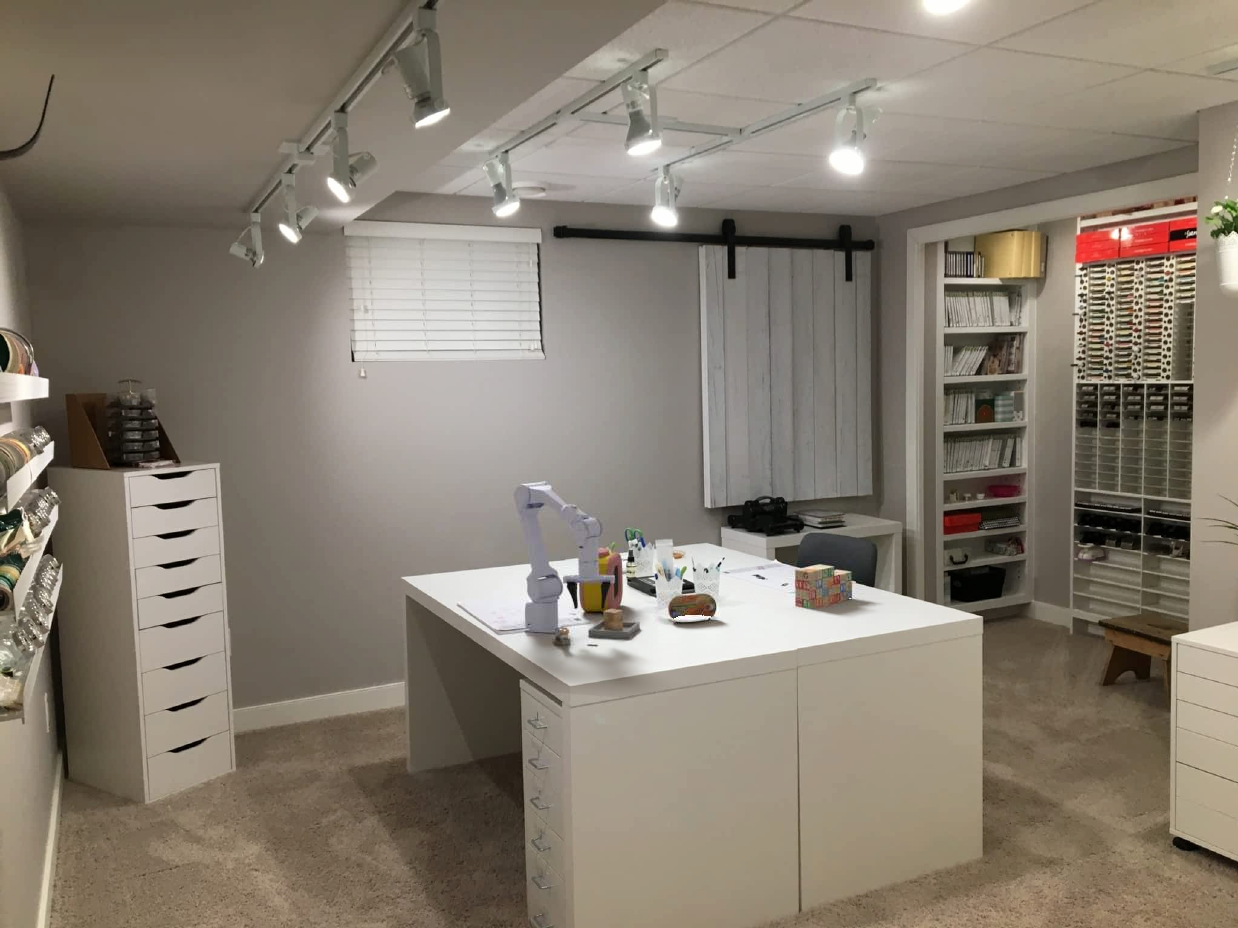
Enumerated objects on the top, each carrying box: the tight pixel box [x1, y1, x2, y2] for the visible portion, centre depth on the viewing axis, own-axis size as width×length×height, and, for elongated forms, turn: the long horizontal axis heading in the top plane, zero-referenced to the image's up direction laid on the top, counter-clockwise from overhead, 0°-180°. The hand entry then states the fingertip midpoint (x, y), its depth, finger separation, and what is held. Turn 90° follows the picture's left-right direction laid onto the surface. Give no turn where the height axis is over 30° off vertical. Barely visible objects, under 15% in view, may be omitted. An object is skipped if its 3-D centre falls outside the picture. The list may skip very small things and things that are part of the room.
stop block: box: [603, 608, 624, 631], centre depth 295 cm, size 4×4×6 cm
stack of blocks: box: [794, 563, 853, 610], centre depth 329 cm, size 21×6×12 cm, turn 129°
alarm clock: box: [578, 547, 624, 613], centre depth 325 cm, size 18×11×19 cm, turn 168°
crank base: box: [552, 637, 598, 647], centre depth 283 cm, size 13×5×1 cm, turn 73°
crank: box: [554, 626, 570, 645], centre depth 281 cm, size 9×4×4 cm, turn 13°
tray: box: [587, 619, 641, 640], centre depth 295 cm, size 12×12×2 cm
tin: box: [667, 593, 717, 620], centre depth 308 cm, size 15×3×8 cm, turn 106°
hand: (589, 608), depth 286 cm, fingers open, 7 cm apart
